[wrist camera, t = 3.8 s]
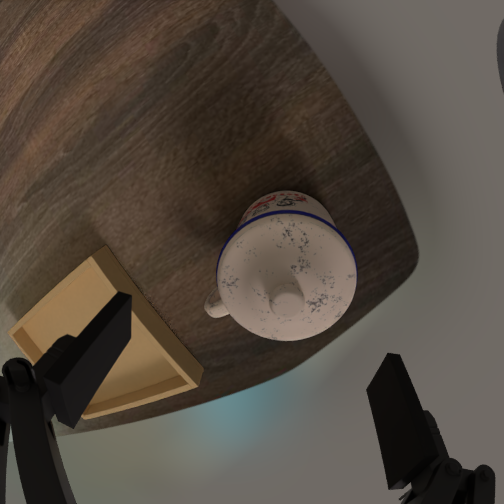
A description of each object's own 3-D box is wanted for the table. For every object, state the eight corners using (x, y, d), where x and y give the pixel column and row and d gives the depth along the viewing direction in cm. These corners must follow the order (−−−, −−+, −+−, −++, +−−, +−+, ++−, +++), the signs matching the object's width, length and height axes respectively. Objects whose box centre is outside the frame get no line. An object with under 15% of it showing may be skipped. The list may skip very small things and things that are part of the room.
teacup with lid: (301, 166, 25) (314, 190, 15) (355, 252, 28) (392, 323, 17) (190, 241, 29) (139, 305, 18) (248, 313, 31) (229, 400, 20)
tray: (106, 244, 30) (90, 255, 27) (204, 368, 34) (198, 386, 31) (19, 321, 36) (7, 332, 33) (92, 406, 41) (84, 419, 38)
